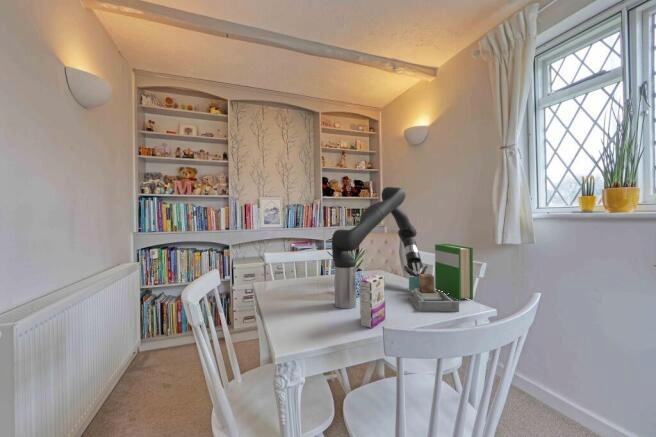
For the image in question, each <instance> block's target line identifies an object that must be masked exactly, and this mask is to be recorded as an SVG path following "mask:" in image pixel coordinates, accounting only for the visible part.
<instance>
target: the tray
mask: <svg viewBox="0 0 656 437" xmlns="http://www.w3.org/2000/svg"><path fill="white" fill-rule="evenodd" d="M408 291H409V292H411V293H413V291H416V292H417V294H418V295H419V296H420V297H421V298H422V299H423V300H442V298H441V297H440V294H439V292H438V291H436V290H435V289H434V293H421V292H420V291H419V277H414V276H408Z"/></svg>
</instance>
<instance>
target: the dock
mask: <svg viewBox="0 0 656 437" xmlns="http://www.w3.org/2000/svg"><path fill="white" fill-rule="evenodd" d="M438 293H439V294H440V297H441V298H442V300H423V299H422V298H421V297H420V296H419V295H418V294H417V292H416V291H413V292H412V295H408V299H409V300H410V302H411V301H412V302H413V303H412V302H411V303H412V305H414V307H415V306H416V307H415V308H416V309H417V310H418V312H460V301H459V300H455V301H454V299H453V298H452V297H450V296H447V295H445V294H444V293H443V292H441V291H439V292H438Z"/></svg>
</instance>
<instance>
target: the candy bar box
mask: <svg viewBox="0 0 656 437" xmlns="http://www.w3.org/2000/svg"><path fill="white" fill-rule="evenodd" d="M385 285H386V284H385V275H381V274H372V275H369V276H368V277H365V278H362V279H360V280H359V303H360V304H359V305H360V307H359V308H360V309H359V312H360V326H362V327H366V328H369V329H374V328H375V327H376V326H378V325H379V324H381V323H382V322H383V321H384V320H385V319H386V293H385V292H386V290H385V289H386V287H385Z"/></svg>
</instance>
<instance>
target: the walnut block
mask: <svg viewBox="0 0 656 437" xmlns="http://www.w3.org/2000/svg"><path fill="white" fill-rule="evenodd" d="M434 290H435V275H432V273H431V274H430V273H424V274H419V291H420V292H421V293H434Z"/></svg>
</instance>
